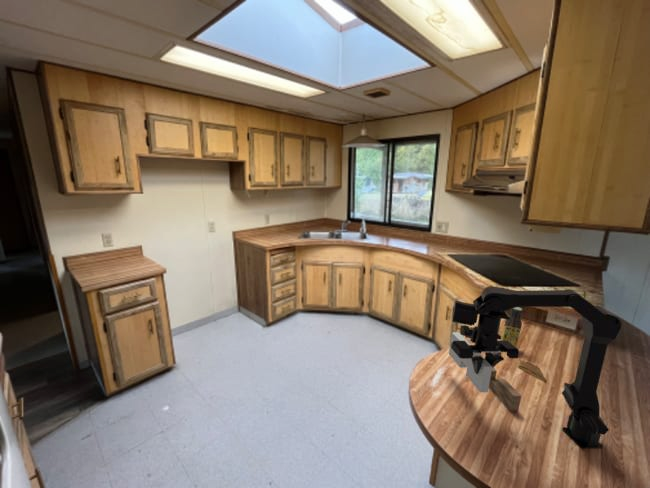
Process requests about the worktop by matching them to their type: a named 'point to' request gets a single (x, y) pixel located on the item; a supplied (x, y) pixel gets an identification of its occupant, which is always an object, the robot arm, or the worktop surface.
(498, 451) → the worktop surface
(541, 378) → the shard
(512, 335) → the sauce bottle
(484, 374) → the slotted top plate
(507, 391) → the slotted base plate
